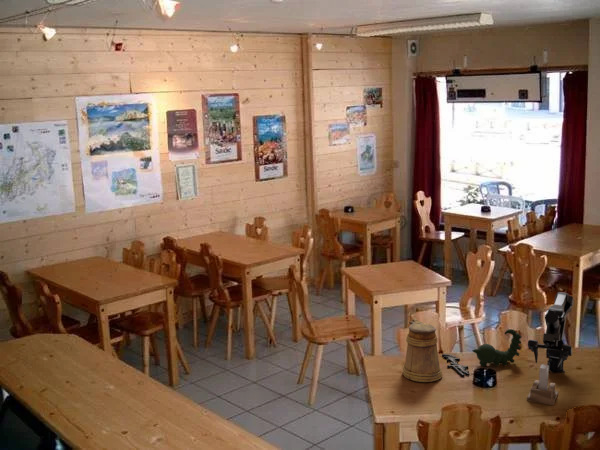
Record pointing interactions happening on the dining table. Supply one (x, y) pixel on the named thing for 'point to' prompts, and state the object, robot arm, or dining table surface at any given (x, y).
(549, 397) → the clay rack
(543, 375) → the clay bar
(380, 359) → the dining table surface
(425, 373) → the tankard
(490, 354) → the toy figurine
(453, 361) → the nameplate
